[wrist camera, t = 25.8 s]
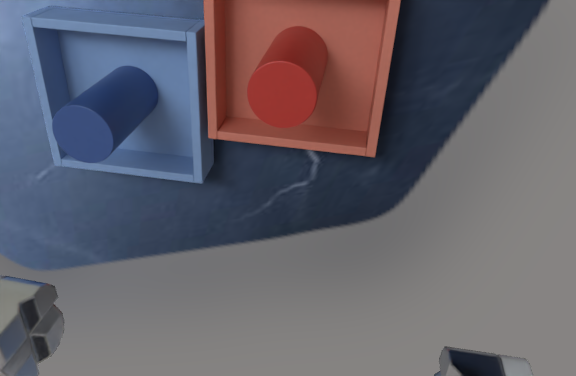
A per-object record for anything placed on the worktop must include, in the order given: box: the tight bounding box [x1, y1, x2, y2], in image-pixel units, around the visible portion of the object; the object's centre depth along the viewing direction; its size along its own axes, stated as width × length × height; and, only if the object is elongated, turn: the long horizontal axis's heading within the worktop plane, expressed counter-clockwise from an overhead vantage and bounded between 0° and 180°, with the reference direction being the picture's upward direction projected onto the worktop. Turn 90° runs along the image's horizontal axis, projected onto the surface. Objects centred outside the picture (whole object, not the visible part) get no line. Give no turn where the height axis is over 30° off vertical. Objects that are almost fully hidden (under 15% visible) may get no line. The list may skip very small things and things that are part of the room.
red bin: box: [204, 0, 401, 157], centre depth 30 cm, size 11×10×3 cm
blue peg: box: [52, 66, 158, 163], centre depth 31 cm, size 4×4×7 cm
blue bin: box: [22, 6, 214, 184], centre depth 33 cm, size 11×10×3 cm
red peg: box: [247, 26, 328, 128], centre depth 28 cm, size 4×4×7 cm
